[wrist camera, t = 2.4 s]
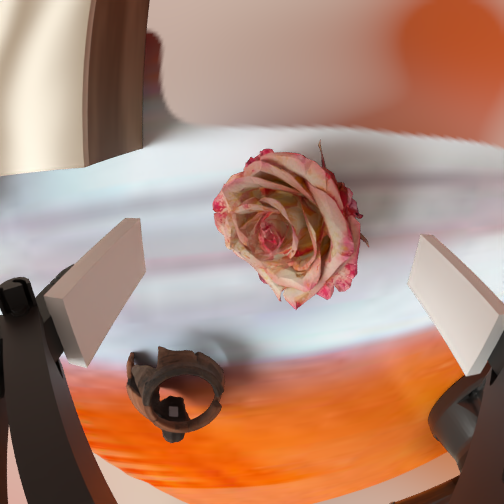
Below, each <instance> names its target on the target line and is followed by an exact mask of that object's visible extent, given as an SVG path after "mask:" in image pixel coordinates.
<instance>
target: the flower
mask: <svg viewBox="0 0 504 504" xmlns="http://www.w3.org/2000/svg"><path fill="white" fill-rule="evenodd" d="M318 146H319V148H320V151H321V157H322V167H320V166H319V165H318V164H317V163H316V162H315V161H312V160H310V159H308V158H306V157H305V156H304V155H301V154H297V153H289V152H277V153H274V151H273V150H272V149H263V151H260V154H259V155H258V156H257V157H255V158H252V157H250V159H249V160H248V162H247V163H246V166H245V167H244V171H243V172H240V173H237V174H234V175H232V176H231V177H230V179H229V180H228V181H227V183H226V184H224V185H223V188H222V190H221V191H220V193H219V194H218V196H217V197H216V198H215V199H214V202H213V210H214V211H215V212H217V213H214V219H215V225H216V227H217V229H218V230H219V232H220V233H222V234H223V235H224V237H225V244H226V247H227V248H228V249H230V250H232V249H234V250H233V252H234V253H235V254H236V255H237V256H238V257H240V258H242V259H243V260H245V261H247V262H248V263H249V264H250V265H251V266H252V267H253V268H254V269H255V270H256V271H257V272H258V275H259V278H260V280H261V281H262V282H263V283H266V284H269V286H270V287H271V288H272V290H273V291H274V293H275V295H276V296H277V298H278V300H279V301H281V300H280V294H281V292H282V291H283V290H284V289H285V290H284V294H283V295H284V297H285V300H286V301H287V302H288V303H289V304H290V305H291V306H292V307H293V308H294V309H296V310H297V308H298V307H300V306H301V305H302V304H303V303H305V302H306V301H307V300H309V299H310V298H311V297H313V296H314V295H315V294H317V295H319V296H321V297H323V298H325V299H327V300H328V299H330V298H331V296H332V294H333V291H334V285H335V287H336V288H337V289H338V291H339V292H341V291H346V290H347V289H349V288H350V286H351V282H352V279H353V278H354V277H355V276H356V274H357V259H358V254H359V247H360V239H362V240H363V241H364V242H365V243H366V244H367V246H368V247H369V245H368V241H367V240H366V238H365V237H364V236H363V235H362V234H361V233H360V231H361V230H360V223H359V222H358V221H357V220H356V219H355V217H357V218H359V219H360V218H362V217H363V215H361V214H359V211H358V208H357V202H356V201H355V200H354V199H352V196H353V193H352V191H351V190H350V189H349V188H346V187H345V184H344V183H342V182H337V181H336V178H335V175H334V173H332V172H331V171H330V170H328V169H326V166H325V162H324V158H323V154H322V150H321V139H320V141H319V144H318ZM238 174H239V175H238ZM366 241H367V242H366ZM354 264H355V265H354ZM349 277H350V278H352V279H350V278H349Z"/></svg>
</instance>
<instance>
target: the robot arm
mask: <svg viewBox="0 0 504 504" xmlns="http://www.w3.org/2000/svg"><path fill="white" fill-rule="evenodd" d="M145 273H146V268H145V260H144V252H143V243H142V234H141V223H140V218H125V219H124V220H122V221H121V222H120V223H119V224H118V225H117V226H116V227H114V228H113V229H112V230H111V231H110V232H109V233H108V234H107V235H106V236H104V237H103V238H102V239H101V240H100V241H99V242H98V243H97V244H96V245H95V246H94V247H92V248H91V249H90V250H89V251H88V252H87V253H86V254H85V255H84V256H83V257H82V258H81V259H80V260H79V261H78V262H77V263H76V264H73V265H71V266H69V267H68V268H66V269H64V270H63V271H61V272H60V273H59V274H58V275H57V276H56V279H55V278H54V279H53V280H52V281H51V282H50V284H48V285H47V286H46V287H45V288H44V289H43V290H42V291H41V292H40V293H39V294H38V295H37V297H36V298H35V296H34V293H33V290H32V287H31V283H30V281H29V279H27V278H25V277H17V278H12V279H10V280H7V281H5V282H4V283H2V284H1V285H0V309H1V311H2V314H3V315H0V504H8V497H7V442H8V427H10V433H11V438H12V444H13V449H14V454H15V458H16V463H17V467H18V471H19V475H20V479H21V482H22V486H23V489H24V493H25V496H26V499H27V502H28V504H118V503H117V502H116V500H115V498H114V496H113V494H112V492H111V490H110V488H109V487H108V485H107V483H106V481H105V479H104V477H103V474H102V472H101V470H100V468H99V466H98V464H97V462H96V460H95V457H94V455H93V453H92V450H91V448H90V446H89V443H88V441H87V438H86V436H85V433H84V431H83V428H82V426H81V423H80V420H79V418H78V415H77V412H76V409H75V406H74V403H73V400H72V397H71V394H70V391H69V388H68V385H67V381H66V378H65V375H64V371H63V367H62V364H61V362H60V360H59V357H60V356H61V354H62V353H63V351H64V353H65V355H66V357H67V360H68V362H69V364H73V365H77V366H82V367H86V368H87V367H88V366H89V364H90V362H91V360H92V359H93V357H94V355H95V353H96V352H97V350H98V348H99V347H100V345H101V343H102V341H103V340H104V338H105V336H106V335H107V333H108V331H109V330H110V328H111V326H112V325H113V323H114V321H115V320H116V318H117V316H118V315H119V313H120V312H121V310H122V308H123V307H124V305H125V304H126V302H127V300H128V299H129V297H130V296H131V294H132V293H133V291H134V289H135V288H136V286H137V285H138V283H139V282H140V280H141V279H142V277H143V276H144V274H145ZM407 285H408V286H409V288H410V289H411V290H412V292H413V293H414V295H415V296H416V298H417V299H418V300H419V302H420V303H421V305H422V306H423V308H424V309H425V311H426V312H427V314H428V315H429V317H430V318H431V320H432V321H433V323H434V324H435V326H436V328H437V329H438V331H439V332H440V334H441V335H442V337H443V339H444V340H445V342H446V343H447V345H448V347H449V348H450V350H451V352H452V353H453V355H454V357H455V358H456V360H457V362H458V363H459V365H460V367H461V369H462V370H463V372H464V374H465V376H464V377H463V378H461V379H460V380H459V381H457V382H456V383H455V384H454V385H453V386H452V387H450V388H449V389H448V390H447V391H446V392H445V393H444V394H443V395H442V396H441V398H440V399H439V400H438V401H437V402H436V404H435V405H434V407H433V408H432V410H431V412H430V414H429V417H428V424H429V426H430V429H431V432H432V434H433V436H434V437H435V438H436V439H437V440H438V441H440V442H441V444H442V445H443V446H444V447H445V448H446V450H447V451H448V452H449V453H450V454H451V455H452V457H453V458H454V459H455V460H456V462H457V465H458V467H459V470H460V475H459V476H457V477H455V478H453V479H451V480H448V481H446V482H444V483H442V484H440V485H438V486H435V487H433V488H431V489H428V490H426V491H423V492H421V493H419V494H416V495H413V496H411V497H408V498H406V499H403V500H400V501H397V502H391V503H390V504H504V304H503V303H502V301H501V300H500V299H499V298H498V297H497V296H496V295H495V294H494V293H493V292H492V291H491V290H490V289H489V288H488V287H487V286H486V285H485V284H484V283H483V282H482V281H481V280H480V279H479V278H478V277H477V276H476V275H475V274H474V273H473V272H472V271H471V270H470V269H469V268H468V267H467V266H466V265H465V264H464V263H463V262H462V261H461V260H460V259H459V258H458V257H456V256H455V255H454V254H453V253H452V252H451V251H450V250H449V249H448V248H447V247H446V246H444V245H443V244H442V243H441V242H440V241H439V240H438V239H437V238H435V237H434V236H433V235H424V234H420V238H419V242H418V246H417V250H416V254H415V258H414V262H413V265H412V269H411V272H410V276H409V279H408V283H407ZM487 361H488V362H487Z"/></svg>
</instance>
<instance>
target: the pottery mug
mask: <svg viewBox="0 0 504 504" xmlns="http://www.w3.org/2000/svg"><path fill="white" fill-rule="evenodd" d="M223 373H224V372H223V369H222V368H221V367H220V365H218V364H217V363H216V362H215V361H214V360H213V359H211V358H210V357H208V356H206V355H205V354H203V353H201V352H197V353H195V354H194V352H193V351H190V350H184V351H172V350H168V349H166V348H164V347H160V346H159V347H158V362H157V367H156V368H153V367H151V366H150V365H137V364H136V365H134V353H132V352H131V353H130V356H129V358H128V361H127V377H128V382H127V393H128V395H129V398H130V400H131V401H132V403H133V405H134V406H135V408H136V409H137V410H138V411H139V412H140V413H141V414H142V415H144V416H145V417H146V418H148V419H149V420H150V421H151V422H153V424H154V425H155V426H157V427H159V428H160V429H162V432H163V437H164V438H165V440H166V441H168V442H170V443H174V442H179V441H181V440H182V439H183V438H184V435H185V433H187V432H191V431H195V430H198V429H200V428H202V427H204V426H206V425H207V424H209V423H210V422H211V421H212V420H214V418H215V417H216V416H217V415H218V414H219V412H220V410H221V408H222V406H221V404H220V403H219V401H220V399H221V395H222V393H223V392H224V383H225V379H224V374H223ZM179 375H195V376H199V377H201V378H203V379H205V380H206V381H208V382H209V383H210V384H211V386H212V387H213V390H214V393H215V397H214V399H213V401H212V403H211V405H210V407H209V408H208V409H207V410H206V411H205V412H204V413H203V414H201V415H200V416H198V417H196V418H194V419H192V420H190V418H189V417H188V414H187V412H186V410H185V404H184V399H183V398H181V397H173V396H169V397H168V398H166V399H163V400H162V401H160V394H159V389H160V386H159V385H160V384H161V383H162V382H164V381H165V380H166V379H169V378H171V377H175V376H179Z"/></svg>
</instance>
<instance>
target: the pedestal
mask: <svg viewBox="0 0 504 504" xmlns="http://www.w3.org/2000/svg"><path fill="white" fill-rule="evenodd" d="M149 1H150V0H1V1H0V176H6V175H13V174H21V173H30V172H38V171H48V170H59V169H70V168H83V167H87V166H90V165H92V164H95V163H98V162H101V161H104V160H107V159H110V158H113V157H116V156H119V155H122V154H126V153H129V152H132V151H135V150H139V149H142V148H143V146H142V105H143V73H144V55H145V41H146V30H147V19H148V10H149Z"/></svg>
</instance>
